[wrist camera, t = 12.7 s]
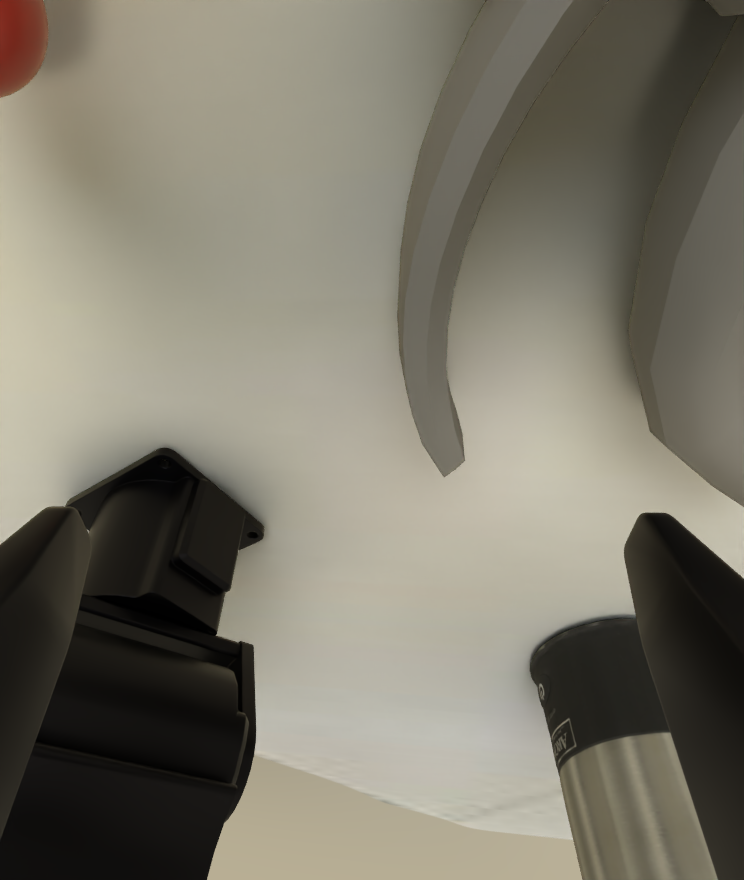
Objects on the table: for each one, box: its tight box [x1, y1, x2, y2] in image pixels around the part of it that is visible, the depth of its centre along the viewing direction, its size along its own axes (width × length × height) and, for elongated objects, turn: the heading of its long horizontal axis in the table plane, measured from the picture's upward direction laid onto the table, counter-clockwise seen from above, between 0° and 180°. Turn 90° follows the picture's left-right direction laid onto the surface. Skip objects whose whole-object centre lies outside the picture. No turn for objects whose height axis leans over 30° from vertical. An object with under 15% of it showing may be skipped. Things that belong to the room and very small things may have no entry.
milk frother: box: [530, 619, 718, 880], centre depth 32 cm, size 14×16×15 cm
